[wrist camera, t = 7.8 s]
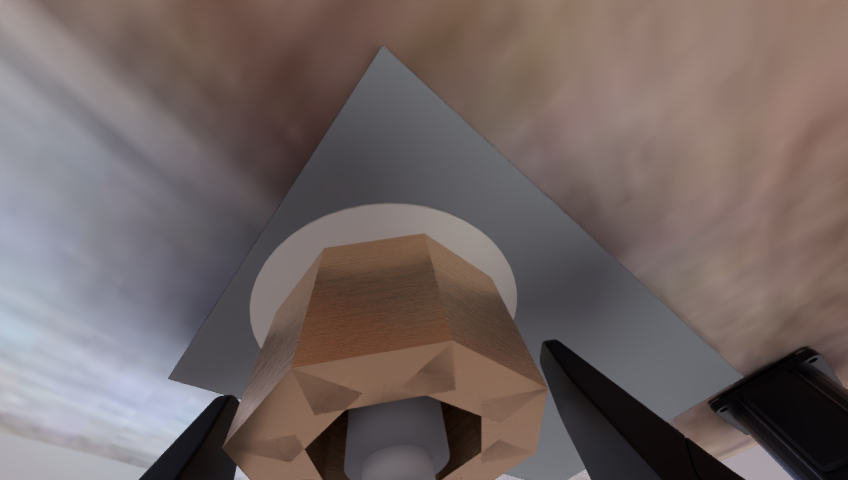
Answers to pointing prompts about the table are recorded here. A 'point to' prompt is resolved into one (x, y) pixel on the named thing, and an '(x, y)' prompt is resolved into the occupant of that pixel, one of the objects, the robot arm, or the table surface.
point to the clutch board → (469, 239)
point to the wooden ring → (388, 363)
